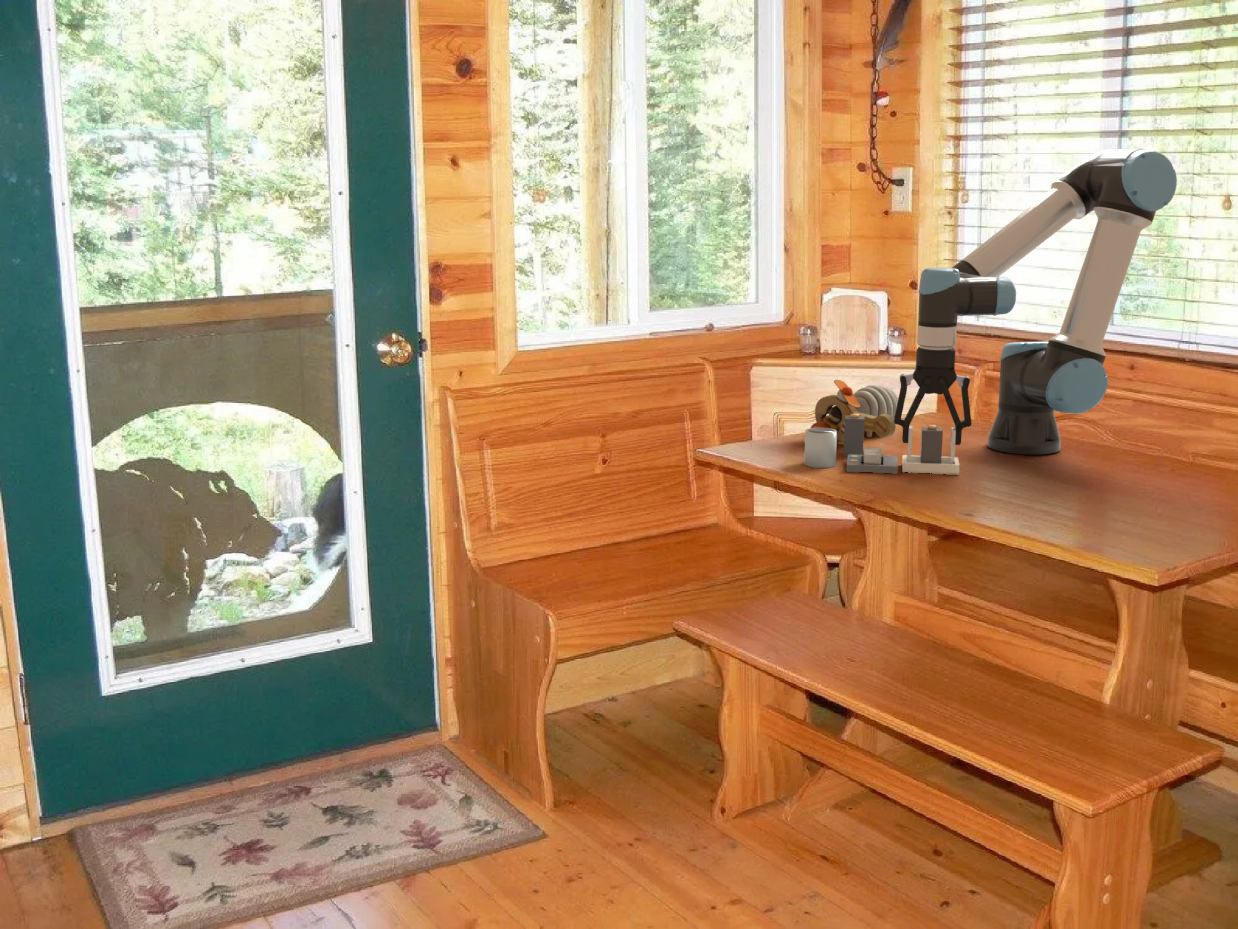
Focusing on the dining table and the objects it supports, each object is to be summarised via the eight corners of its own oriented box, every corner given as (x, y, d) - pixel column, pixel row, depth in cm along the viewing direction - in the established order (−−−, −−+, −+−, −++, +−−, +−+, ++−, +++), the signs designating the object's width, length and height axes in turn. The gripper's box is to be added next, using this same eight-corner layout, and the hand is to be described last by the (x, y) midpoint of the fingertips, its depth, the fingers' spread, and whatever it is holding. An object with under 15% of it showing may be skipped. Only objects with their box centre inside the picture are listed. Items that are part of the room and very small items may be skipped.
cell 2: (940, 466, 286) (942, 424, 284) (940, 470, 282) (943, 428, 280) (919, 465, 286) (921, 423, 285) (920, 469, 283) (922, 427, 281)
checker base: (897, 463, 290) (897, 454, 290) (897, 474, 281) (897, 465, 280) (847, 461, 292) (848, 452, 292) (846, 472, 282) (846, 463, 282)
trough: (957, 466, 287) (957, 457, 286) (959, 475, 280) (959, 465, 279) (902, 464, 289) (902, 455, 288) (902, 472, 282) (902, 463, 281)
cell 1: (863, 452, 300) (864, 413, 298) (862, 456, 296) (864, 416, 294) (844, 452, 301) (845, 412, 299) (843, 456, 297) (844, 415, 295)
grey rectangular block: (880, 457, 289) (881, 447, 289) (880, 464, 282) (881, 455, 282) (864, 456, 290) (864, 447, 289) (863, 464, 283) (863, 454, 282)
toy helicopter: (828, 436, 316) (830, 376, 313) (904, 451, 301) (907, 387, 298) (804, 441, 311) (806, 380, 308) (880, 456, 296) (883, 392, 293)
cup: (836, 461, 292) (837, 427, 290) (835, 468, 285) (836, 434, 284) (805, 460, 293) (806, 426, 291) (803, 467, 287) (804, 432, 285)
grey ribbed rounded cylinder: (912, 432, 322) (914, 383, 319) (868, 442, 310) (870, 392, 308) (873, 425, 329) (875, 378, 327) (829, 435, 317) (831, 387, 315)
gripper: (988, 345, 281) (981, 457, 286) (883, 343, 284) (878, 453, 289) (991, 350, 273) (984, 465, 278) (883, 348, 277) (878, 461, 282)
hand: (930, 459), depth 284 cm, fingers open, 8 cm apart
